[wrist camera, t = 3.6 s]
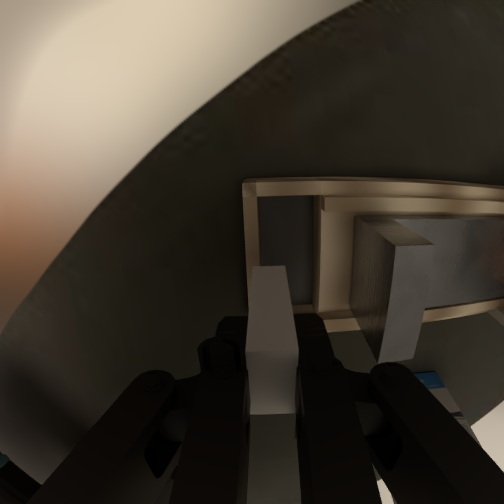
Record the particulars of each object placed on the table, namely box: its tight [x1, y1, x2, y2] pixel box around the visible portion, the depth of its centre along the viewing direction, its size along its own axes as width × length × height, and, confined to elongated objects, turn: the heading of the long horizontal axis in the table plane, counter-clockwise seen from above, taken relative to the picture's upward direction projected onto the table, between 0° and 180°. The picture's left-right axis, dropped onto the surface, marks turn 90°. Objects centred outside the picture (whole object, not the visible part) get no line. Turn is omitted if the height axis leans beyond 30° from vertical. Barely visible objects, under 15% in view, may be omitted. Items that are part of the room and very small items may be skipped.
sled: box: [349, 215, 504, 364], centre depth 15 cm, size 18×6×6 cm, turn 93°
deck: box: [242, 177, 504, 332], centre depth 19 cm, size 34×10×4 cm, turn 93°
